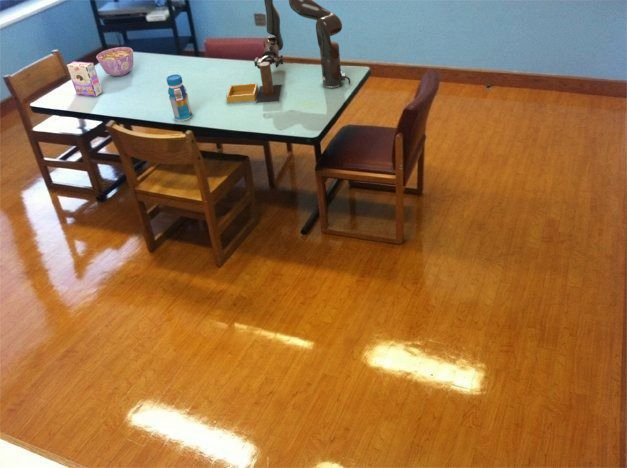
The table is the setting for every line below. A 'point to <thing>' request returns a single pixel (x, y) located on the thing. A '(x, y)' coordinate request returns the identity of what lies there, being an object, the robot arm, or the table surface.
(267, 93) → the brown cylinder
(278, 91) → the mat
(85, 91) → the candy box
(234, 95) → the bin
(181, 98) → the beverage bottle
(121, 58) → the bowl of food
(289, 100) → the table surface
